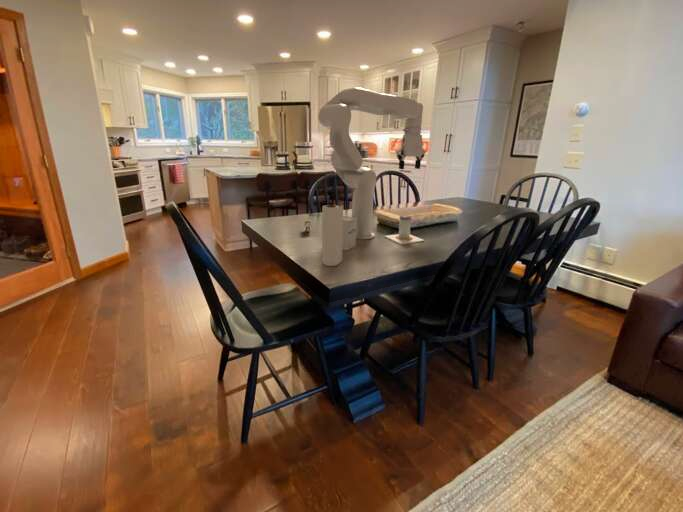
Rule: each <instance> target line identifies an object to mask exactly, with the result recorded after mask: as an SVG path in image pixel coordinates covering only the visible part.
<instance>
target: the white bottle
mask: <svg viewBox="0 0 683 512" xmlns="http://www.w3.org/2000/svg"><path fill="white" fill-rule="evenodd" d="M356 223H357V218H353V217H352V216H345V215H343V238H342V251H346V250H347V251H348V250H350V249H353V248H355V247H356V244H357V243H356V242H357V239H356Z"/></svg>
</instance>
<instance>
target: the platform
mask: <svg viewBox="0 0 683 512" xmlns="http://www.w3.org/2000/svg"><path fill="white" fill-rule="evenodd" d="M303 226H304V228H305V233H306V235H307V234H308V233H307V232H310V231H311V227H312V226H313V221H311V220H310V218H305V220H303Z"/></svg>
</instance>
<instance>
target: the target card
mask: <svg viewBox="0 0 683 512" xmlns="http://www.w3.org/2000/svg"><path fill="white" fill-rule="evenodd" d="M385 237H386V239H388V240H389V241H393V242H394V243H396V244H399V245H401V246H402V245H407V244H409V245H410V244H415V243H416V244H417V243H421V242H422V241H424V242H425V239H422V238H420V237H417V236H415V235H412V234H410V237H409V239H400V238H399V233H398V234H388V235H384V238H385Z"/></svg>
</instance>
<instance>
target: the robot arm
mask: <svg viewBox="0 0 683 512" xmlns="http://www.w3.org/2000/svg"><path fill="white" fill-rule="evenodd" d="M352 111H358V112H362V113H367V114H372V115H376V116H390V117H392V118H393V119H395V120H405V121H404V122H405V123H404V128H402V132H404V134H402V139H401V143H400V148H398V149H396V150H395V151H394V152H395V155H396V158H397V159H398V161H399V162H398V169H399V170H404V169H405V159H406V157H407V158H408V157H412V158H413V157H415V163H414V169H418V170H420V169H421V162H422V161H423V158H424V157H425V155H426V153H427V151H426V150H425V149H424V148H423V147H424V146H423V144H424V143H423V135H422V134H421V133H422V122H423V113H424V112H423V111H424V105H423V103H421V102H418V101H417V100H415V99H413V98H410V97H405V96H399V95H393V94H387V93H380V92H377V91H374V90H370V89H365V88H364V87H358V86H356V87H351V88H350V87H349V88H345V89H343V90H341V91H339V92H338V93H337V94H336V95H335V96H333V97H332V98H330V100H328V101H327V102H326V103H325V104H324V105H323V106H322V107H320V109H319V112H318V118H317V119H318V121H319V123H320V125H322V126H323V127H325V128H329V136H328V138H329V139H328V140H329V143H330V146H331V148H332V149H333V150H332V152H331V154H330V162H331V166H332V168H333V169H334V170H335V172H336V174H337V175H338V176H339V178H340V179H341V181H342V182H343V183H344V185H346V186H348V187H350V188H355V189H354V192H353V195H352V202H351V203H352V205H351V206H352V207H351V208H352V209H351V217H353V218H357V223H356V240H372V239H374V238H375V232H372V231H373V230H372V227H373V226H372V225H373V212H374V211H373V210H374V209H373V208H374V194H375V188H376V186H377V185H376V184H377V174H376V172H375V170H373V169H371V168H369V167H364V166H362V165H363V162H364V161H363V157H362V155H361V152H360V151H359V150H358V148H357V147H356V144H355V143H354V142H353V140H352V138H351V135H350V130H349V129H350V124H351V121H352Z"/></svg>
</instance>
